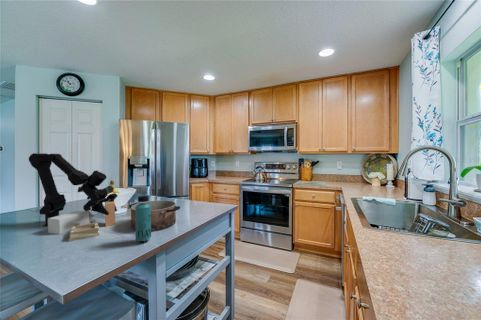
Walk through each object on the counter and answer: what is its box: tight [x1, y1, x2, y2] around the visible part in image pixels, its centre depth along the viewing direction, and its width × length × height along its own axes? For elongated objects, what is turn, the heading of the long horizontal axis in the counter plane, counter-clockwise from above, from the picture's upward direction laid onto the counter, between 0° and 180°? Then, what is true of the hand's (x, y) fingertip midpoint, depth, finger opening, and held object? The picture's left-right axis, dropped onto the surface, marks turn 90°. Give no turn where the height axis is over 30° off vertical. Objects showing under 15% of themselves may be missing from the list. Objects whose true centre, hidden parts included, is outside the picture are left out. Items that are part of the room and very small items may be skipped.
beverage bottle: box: [134, 195, 153, 242], centre depth 88 cm, size 6×7×20 cm
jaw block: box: [104, 201, 116, 227], centre depth 108 cm, size 4×4×12 cm
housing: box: [68, 220, 100, 242], centre depth 96 cm, size 14×11×4 cm
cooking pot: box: [128, 199, 181, 232], centre depth 109 cm, size 30×22×11 cm
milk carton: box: [47, 209, 95, 235], centre depth 105 cm, size 7×7×19 cm
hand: (112, 212), depth 108 cm, fingers closed on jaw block, 6 cm apart
